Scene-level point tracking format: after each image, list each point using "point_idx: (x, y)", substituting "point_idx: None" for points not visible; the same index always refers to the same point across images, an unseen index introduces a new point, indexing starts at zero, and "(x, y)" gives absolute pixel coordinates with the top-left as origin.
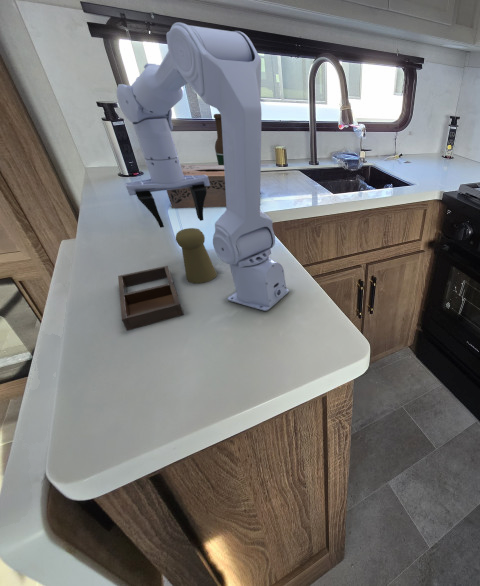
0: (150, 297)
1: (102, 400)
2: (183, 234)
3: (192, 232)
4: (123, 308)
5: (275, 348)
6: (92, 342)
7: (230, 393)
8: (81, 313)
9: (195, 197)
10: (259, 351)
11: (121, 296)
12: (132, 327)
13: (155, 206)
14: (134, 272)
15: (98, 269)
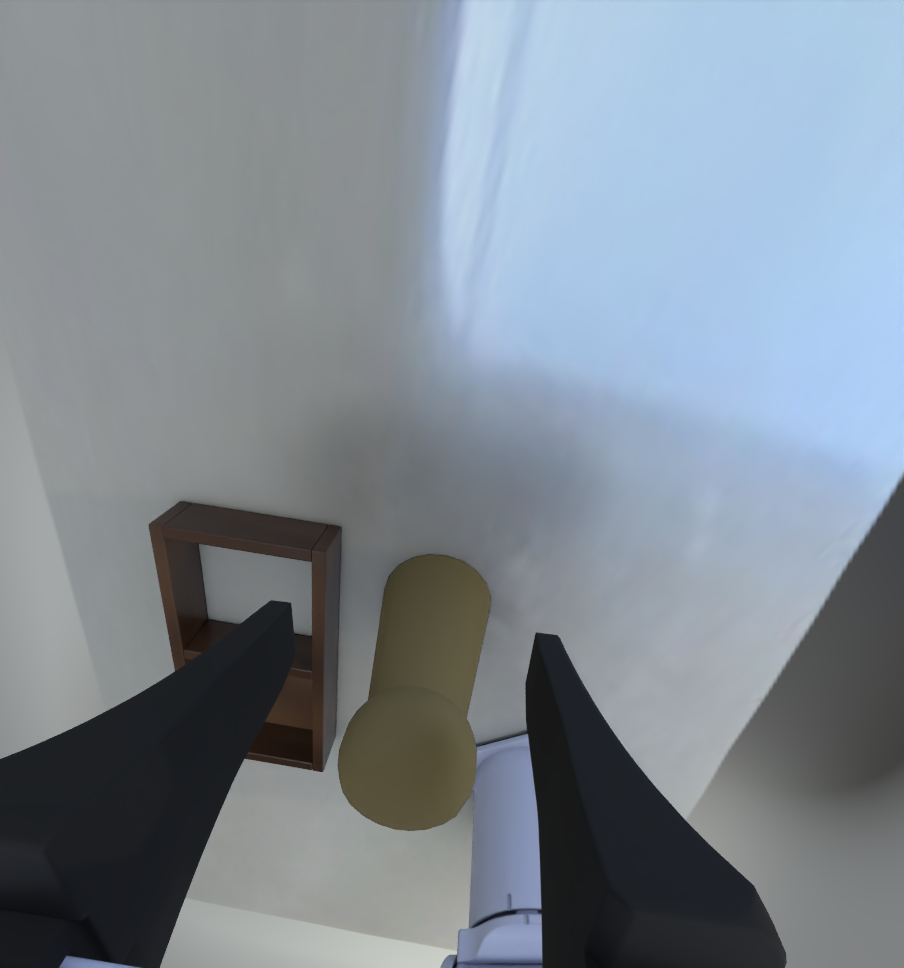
0: None
1: None
2: (368, 816)
3: (413, 827)
4: None
5: (462, 897)
6: None
7: (358, 912)
8: (90, 586)
9: (545, 938)
10: (434, 887)
11: (177, 659)
12: None
13: (196, 853)
14: (204, 534)
15: (60, 277)
